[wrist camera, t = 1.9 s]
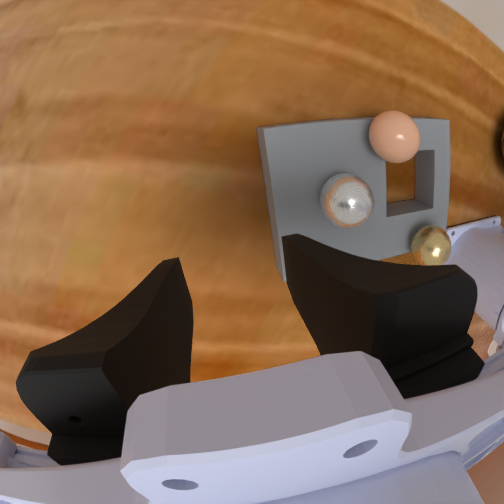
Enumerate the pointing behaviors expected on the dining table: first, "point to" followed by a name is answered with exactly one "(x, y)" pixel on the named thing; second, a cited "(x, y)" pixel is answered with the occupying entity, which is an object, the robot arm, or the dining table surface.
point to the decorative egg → (502, 143)
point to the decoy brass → (431, 246)
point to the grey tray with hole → (356, 162)
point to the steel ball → (347, 200)
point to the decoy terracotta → (394, 136)
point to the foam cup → (492, 348)
